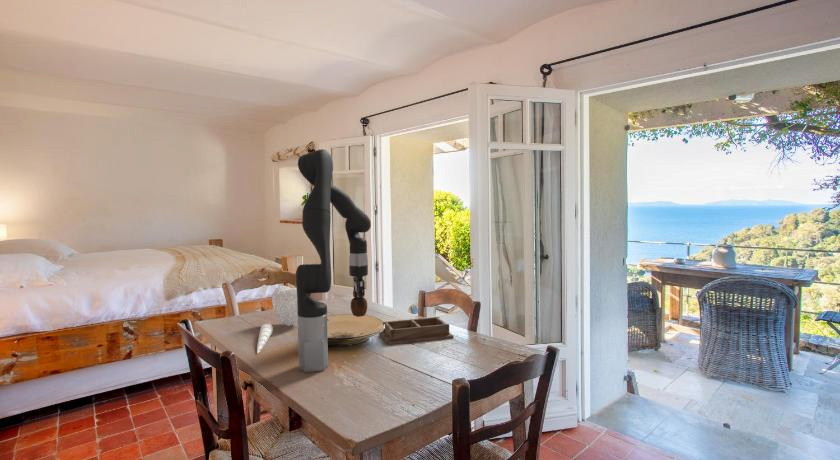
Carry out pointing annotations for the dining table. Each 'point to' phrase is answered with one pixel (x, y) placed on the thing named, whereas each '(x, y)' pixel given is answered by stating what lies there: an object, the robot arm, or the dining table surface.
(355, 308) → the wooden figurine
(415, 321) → the brown divided wooden tray
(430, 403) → the dining table surface
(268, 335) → the unicorn horn
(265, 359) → the dining table surface
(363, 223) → the robot arm
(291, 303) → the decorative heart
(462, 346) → the dining table surface
